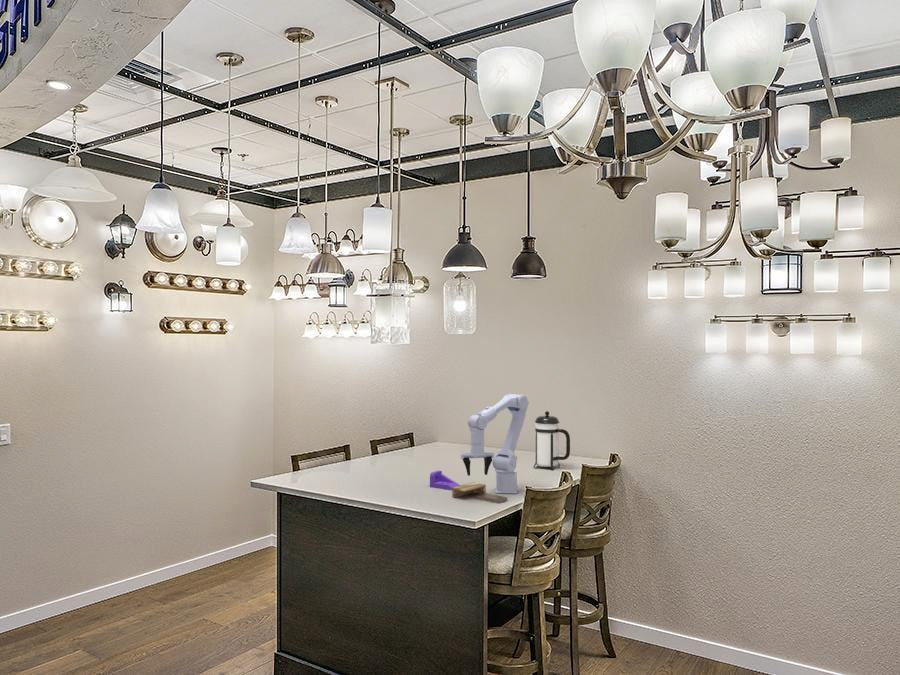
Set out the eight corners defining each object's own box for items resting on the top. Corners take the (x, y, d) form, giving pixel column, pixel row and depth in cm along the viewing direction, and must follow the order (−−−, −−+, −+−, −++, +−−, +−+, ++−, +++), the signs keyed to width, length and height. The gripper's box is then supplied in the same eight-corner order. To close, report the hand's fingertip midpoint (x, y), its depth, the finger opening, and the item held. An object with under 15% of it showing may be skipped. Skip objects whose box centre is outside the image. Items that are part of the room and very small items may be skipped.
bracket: (429, 487, 303) (429, 472, 303) (438, 485, 309) (438, 470, 309) (451, 491, 297) (451, 475, 297) (459, 488, 302) (459, 473, 302)
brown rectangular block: (485, 494, 289) (485, 484, 289) (464, 499, 279) (464, 489, 279) (473, 491, 294) (473, 482, 294) (452, 497, 284) (452, 487, 284)
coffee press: (538, 471, 340) (539, 413, 340) (529, 465, 356) (529, 409, 356) (570, 470, 344) (570, 412, 344) (559, 464, 359) (559, 409, 360)
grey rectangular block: (507, 502, 278) (507, 497, 278) (498, 504, 273) (498, 499, 273) (485, 497, 286) (485, 492, 286) (476, 499, 281) (476, 495, 281)
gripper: (490, 441, 289) (490, 472, 289) (458, 442, 286) (458, 473, 286) (495, 443, 282) (495, 475, 282) (462, 444, 279) (462, 477, 279)
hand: (477, 474), depth 284 cm, fingers open, 7 cm apart
